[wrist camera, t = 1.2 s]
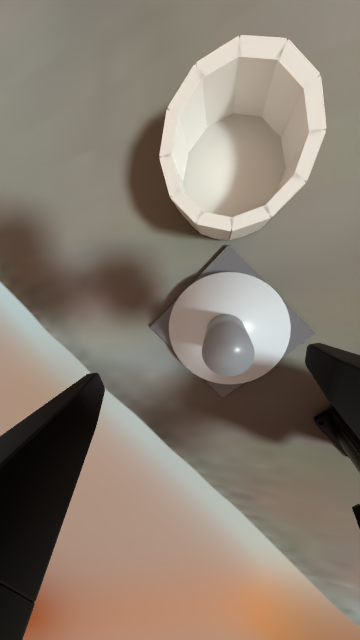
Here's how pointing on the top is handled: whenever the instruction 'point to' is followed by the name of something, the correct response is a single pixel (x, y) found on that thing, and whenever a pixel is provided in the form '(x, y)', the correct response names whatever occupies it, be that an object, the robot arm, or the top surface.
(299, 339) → the mat
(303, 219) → the top surface
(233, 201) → the bowl
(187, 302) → the lid
